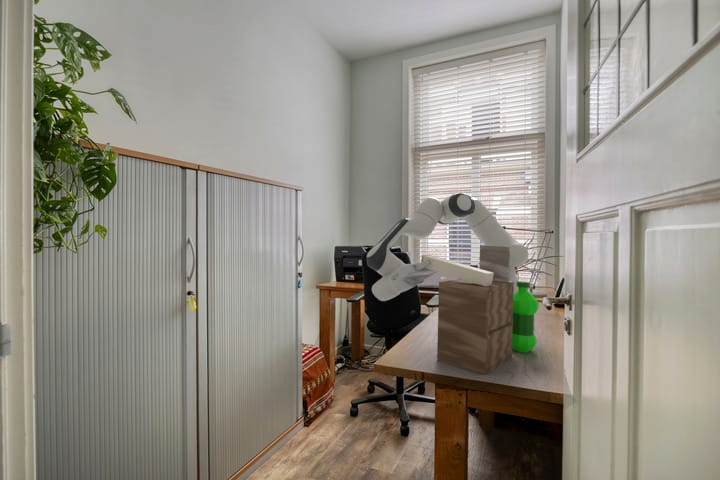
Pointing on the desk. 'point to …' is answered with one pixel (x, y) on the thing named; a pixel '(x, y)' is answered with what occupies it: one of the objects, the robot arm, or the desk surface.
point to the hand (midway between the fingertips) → (434, 261)
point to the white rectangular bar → (459, 270)
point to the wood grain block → (477, 316)
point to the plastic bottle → (523, 318)
